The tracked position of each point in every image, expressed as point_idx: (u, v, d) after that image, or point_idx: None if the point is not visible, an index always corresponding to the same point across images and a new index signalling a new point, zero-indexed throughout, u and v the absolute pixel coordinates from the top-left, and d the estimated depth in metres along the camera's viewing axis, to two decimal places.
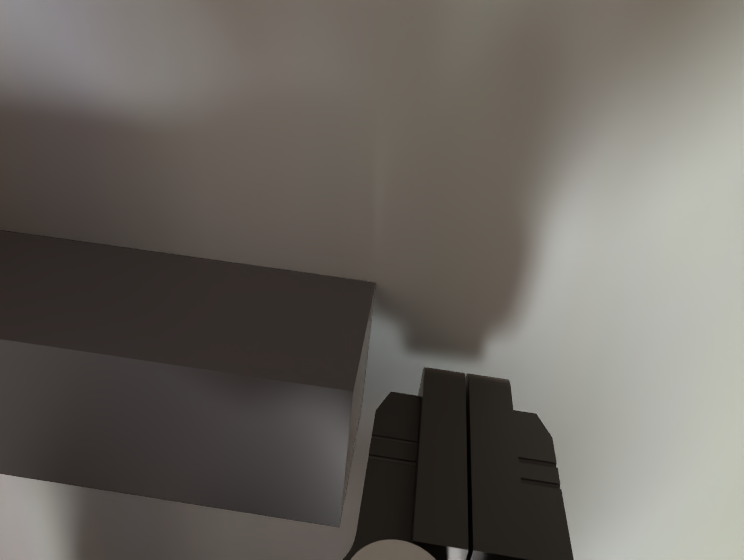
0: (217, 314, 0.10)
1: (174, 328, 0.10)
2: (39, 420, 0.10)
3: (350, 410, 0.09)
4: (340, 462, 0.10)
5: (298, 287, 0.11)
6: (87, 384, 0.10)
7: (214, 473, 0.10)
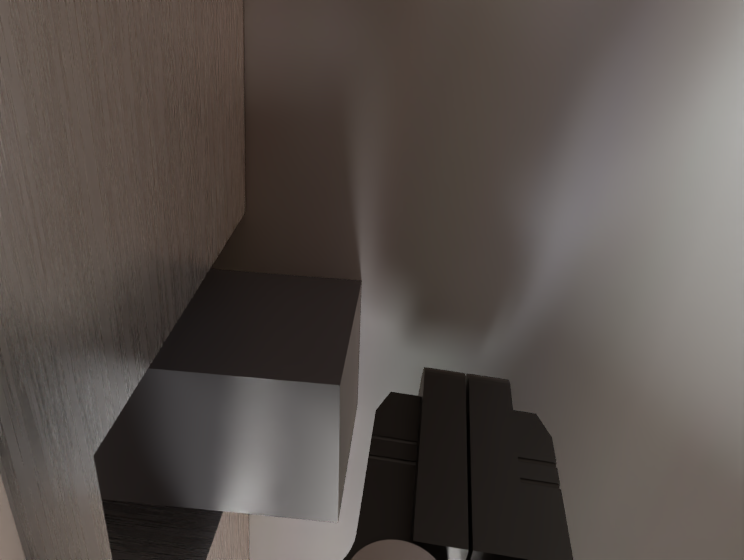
0: (205, 319, 0.11)
1: None
2: None
3: (339, 404, 0.10)
4: (333, 457, 0.10)
5: (285, 290, 0.12)
6: None
7: (211, 476, 0.11)
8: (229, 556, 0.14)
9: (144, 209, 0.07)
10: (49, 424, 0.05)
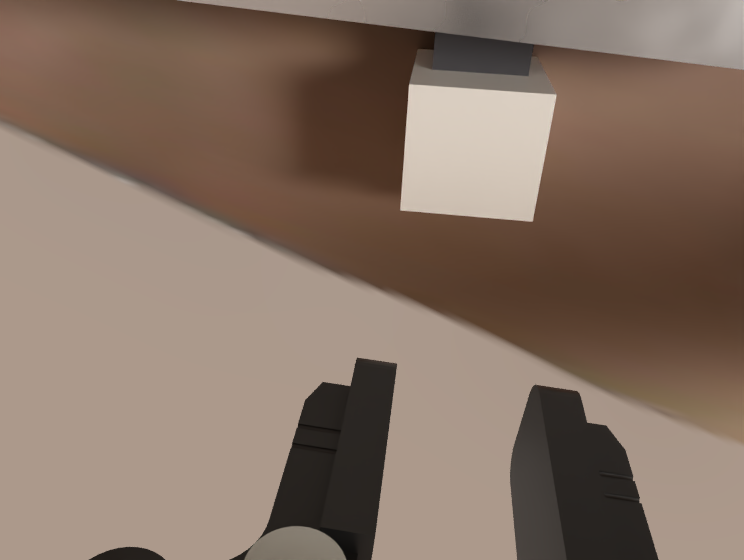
0: None
1: None
2: None
3: None
4: None
5: None
6: None
7: None
8: None
9: None
10: None
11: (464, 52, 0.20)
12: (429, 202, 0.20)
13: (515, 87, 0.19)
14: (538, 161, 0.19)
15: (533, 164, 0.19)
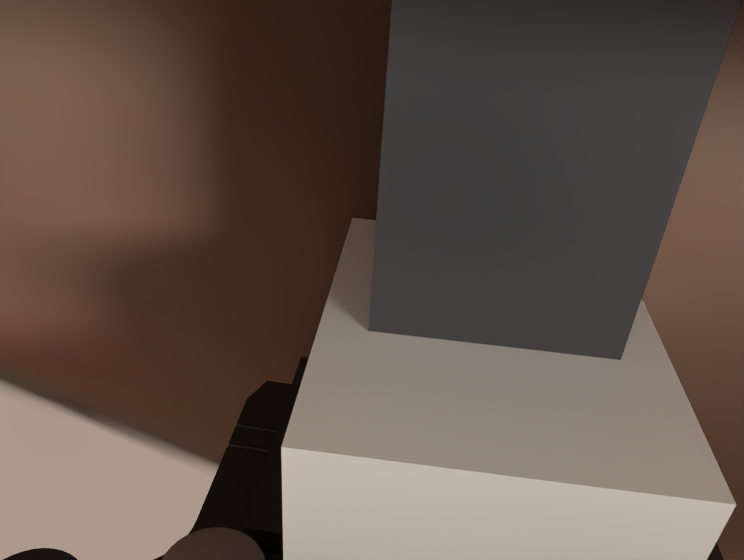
0: None
1: None
2: (551, 86, 0.06)
3: None
4: None
5: None
6: None
7: None
8: None
9: None
10: None
11: (453, 299, 0.07)
12: None
13: (599, 445, 0.06)
14: None
15: None
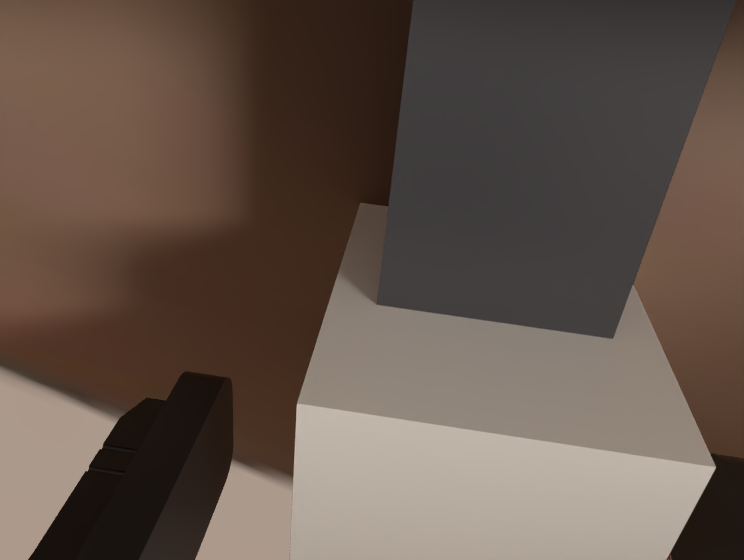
0: None
1: None
2: (559, 76, 0.07)
3: None
4: None
5: None
6: None
7: None
8: None
9: None
10: None
11: (458, 277, 0.08)
12: None
13: (592, 412, 0.07)
14: None
15: None
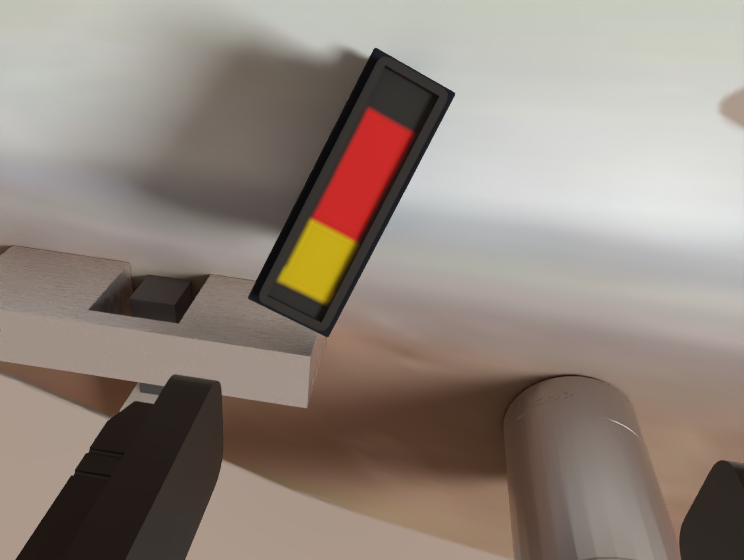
0: None
1: None
2: None
3: (135, 299, 0.41)
4: (151, 302, 0.41)
5: None
6: None
7: None
8: (230, 290, 0.42)
9: (71, 290, 0.40)
10: (68, 312, 0.38)
11: (153, 388, 0.45)
12: None
13: None
14: None
15: None
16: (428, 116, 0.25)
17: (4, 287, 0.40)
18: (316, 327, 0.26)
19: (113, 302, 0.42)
